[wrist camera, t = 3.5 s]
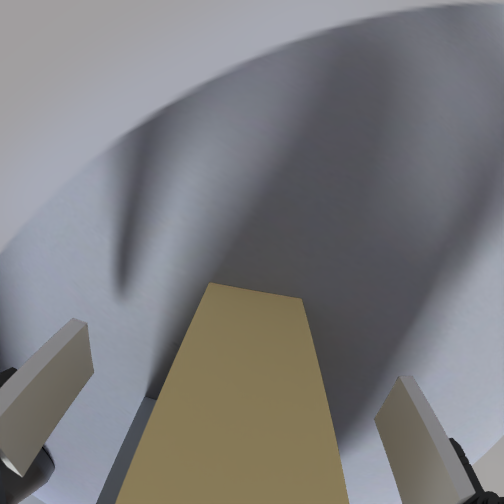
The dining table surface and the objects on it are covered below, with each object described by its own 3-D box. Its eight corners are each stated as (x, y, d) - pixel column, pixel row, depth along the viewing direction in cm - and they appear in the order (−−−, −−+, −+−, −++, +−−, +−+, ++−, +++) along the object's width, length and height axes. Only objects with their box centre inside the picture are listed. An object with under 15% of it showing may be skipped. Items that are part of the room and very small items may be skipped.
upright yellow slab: (190, 458, 16) (164, 577, 7) (209, 281, 12) (115, 504, 3) (247, 468, 16) (238, 588, 7) (301, 297, 13) (354, 530, 3)
